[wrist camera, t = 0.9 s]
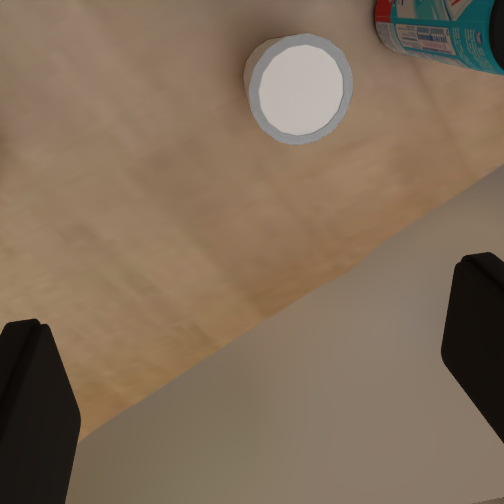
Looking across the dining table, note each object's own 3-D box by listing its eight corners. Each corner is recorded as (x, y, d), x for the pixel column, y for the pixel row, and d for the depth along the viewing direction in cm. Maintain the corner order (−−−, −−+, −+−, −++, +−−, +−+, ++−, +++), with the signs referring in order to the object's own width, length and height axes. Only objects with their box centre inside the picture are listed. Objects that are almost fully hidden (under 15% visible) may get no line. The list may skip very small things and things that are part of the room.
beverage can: (455, -31, 34) (633, -54, 21) (434, 56, 37) (581, 84, 24) (379, -40, 33) (517, -69, 20) (363, 51, 36) (476, 77, 23)
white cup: (252, 135, 38) (268, 161, 32) (221, 48, 34) (233, 58, 28) (332, 104, 37) (364, 123, 31) (309, 13, 34) (339, 15, 28)
